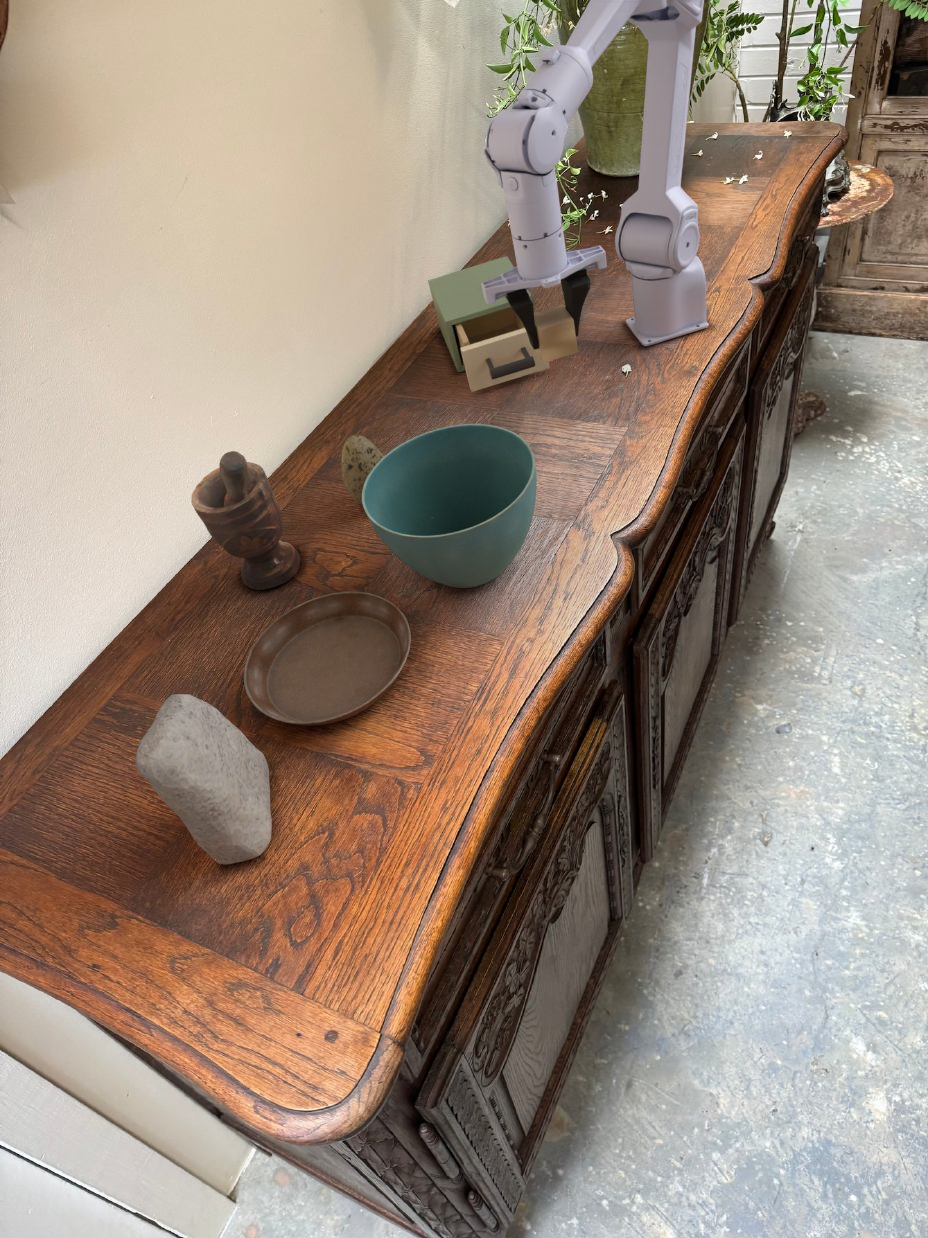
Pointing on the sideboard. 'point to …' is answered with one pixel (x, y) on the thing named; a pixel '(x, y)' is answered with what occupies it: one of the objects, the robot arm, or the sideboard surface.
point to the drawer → (496, 349)
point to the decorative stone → (209, 778)
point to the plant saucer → (327, 658)
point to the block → (555, 333)
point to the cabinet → (465, 299)
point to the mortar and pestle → (246, 521)
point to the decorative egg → (358, 464)
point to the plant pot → (454, 502)
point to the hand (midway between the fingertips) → (553, 339)
